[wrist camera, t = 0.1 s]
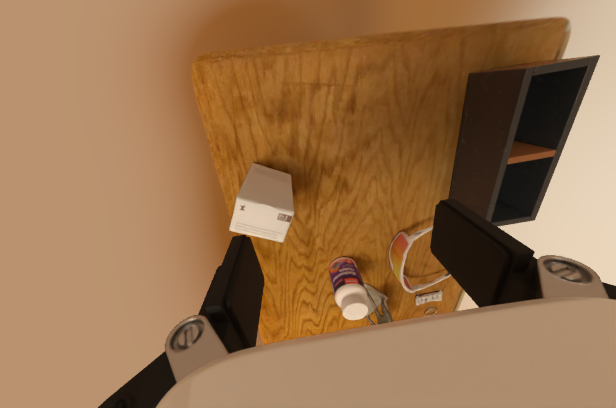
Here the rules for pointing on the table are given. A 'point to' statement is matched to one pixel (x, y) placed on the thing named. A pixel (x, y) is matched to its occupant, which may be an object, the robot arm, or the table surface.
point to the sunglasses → (399, 256)
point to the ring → (430, 310)
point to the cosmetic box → (264, 204)
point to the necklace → (429, 297)
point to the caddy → (516, 135)
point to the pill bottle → (348, 288)
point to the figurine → (377, 305)
